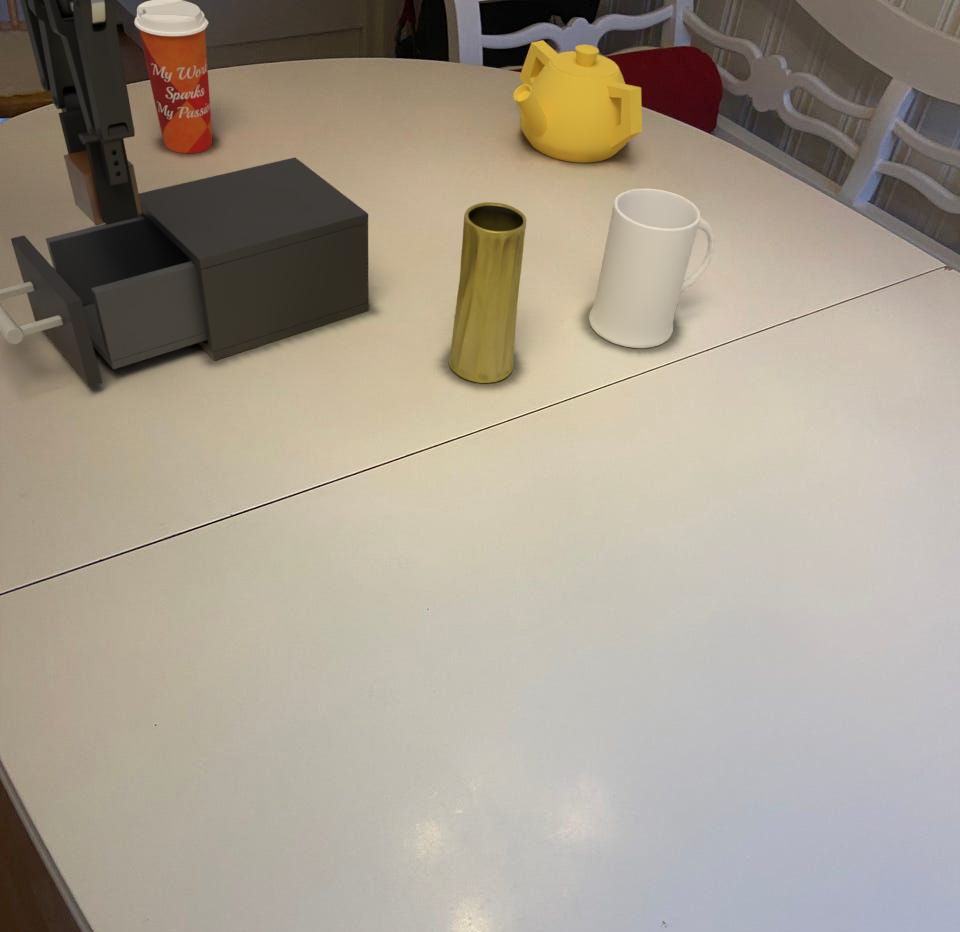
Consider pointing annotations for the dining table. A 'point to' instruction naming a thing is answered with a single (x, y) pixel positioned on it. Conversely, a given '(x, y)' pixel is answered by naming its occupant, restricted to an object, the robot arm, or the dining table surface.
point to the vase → (488, 292)
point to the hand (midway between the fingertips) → (108, 206)
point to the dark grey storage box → (266, 251)
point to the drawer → (108, 295)
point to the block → (90, 185)
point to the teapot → (576, 104)
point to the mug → (646, 266)
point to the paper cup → (177, 71)
